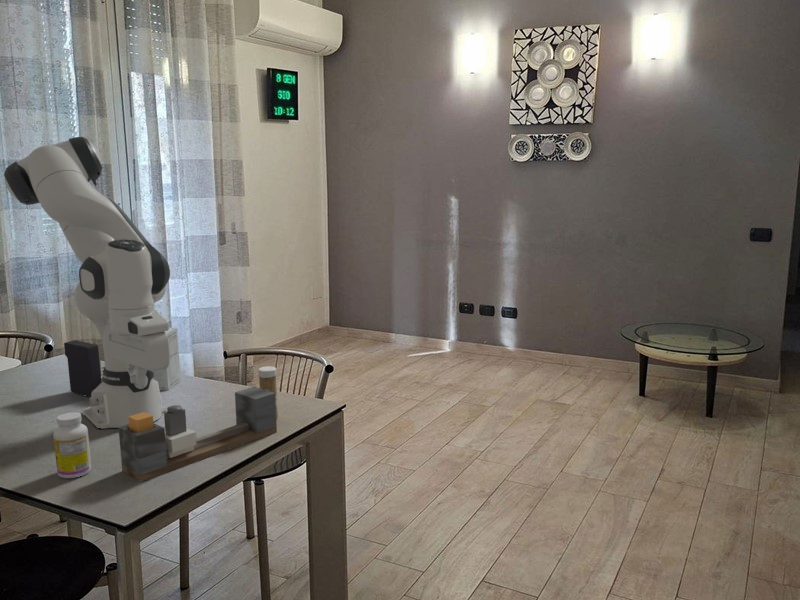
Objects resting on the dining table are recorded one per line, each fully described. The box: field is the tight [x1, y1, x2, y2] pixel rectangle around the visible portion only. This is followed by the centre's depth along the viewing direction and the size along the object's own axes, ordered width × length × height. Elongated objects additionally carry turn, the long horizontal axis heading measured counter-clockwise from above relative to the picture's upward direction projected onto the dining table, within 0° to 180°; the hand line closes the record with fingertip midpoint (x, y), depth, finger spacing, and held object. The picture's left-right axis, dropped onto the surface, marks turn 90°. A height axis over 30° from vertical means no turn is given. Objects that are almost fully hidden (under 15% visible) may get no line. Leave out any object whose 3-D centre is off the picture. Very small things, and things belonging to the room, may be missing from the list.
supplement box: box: [153, 327, 182, 391], centre depth 210 cm, size 10×9×17 cm
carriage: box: [163, 405, 197, 458], centre depth 156 cm, size 6×6×10 cm
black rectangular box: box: [63, 339, 103, 398], centre depth 202 cm, size 11×4×15 cm, turn 58°
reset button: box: [128, 412, 155, 433], centre depth 150 cm, size 4×4×5 cm
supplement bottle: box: [52, 411, 92, 479], centre depth 150 cm, size 7×7×13 cm
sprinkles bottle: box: [257, 365, 279, 420], centre depth 182 cm, size 5×5×13 cm
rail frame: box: [118, 386, 278, 482], centre depth 162 cm, size 8×36×10 cm, turn 139°
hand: (138, 384), depth 148 cm, fingers closed
